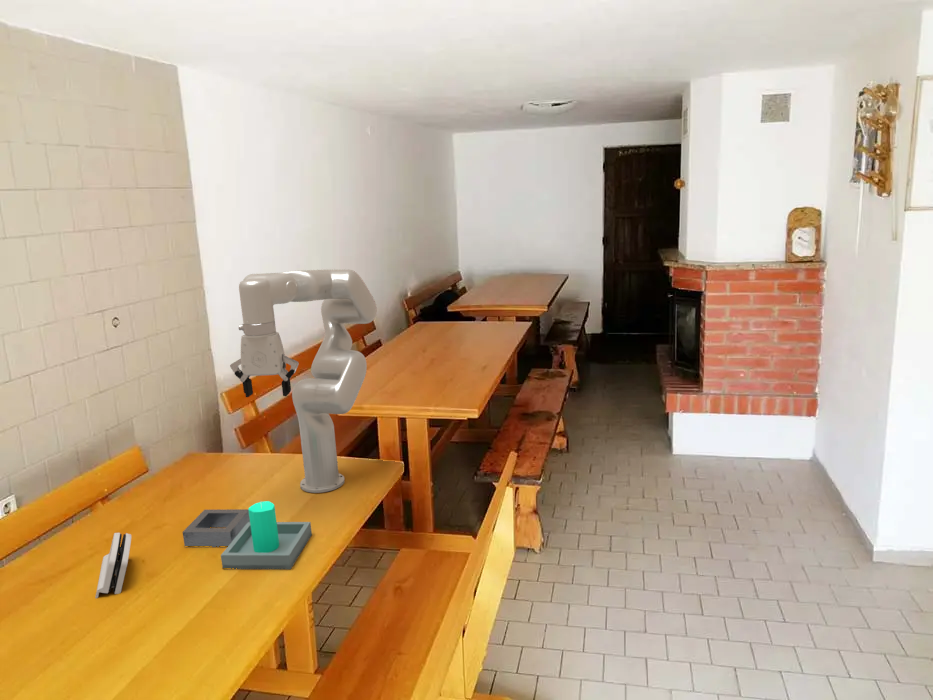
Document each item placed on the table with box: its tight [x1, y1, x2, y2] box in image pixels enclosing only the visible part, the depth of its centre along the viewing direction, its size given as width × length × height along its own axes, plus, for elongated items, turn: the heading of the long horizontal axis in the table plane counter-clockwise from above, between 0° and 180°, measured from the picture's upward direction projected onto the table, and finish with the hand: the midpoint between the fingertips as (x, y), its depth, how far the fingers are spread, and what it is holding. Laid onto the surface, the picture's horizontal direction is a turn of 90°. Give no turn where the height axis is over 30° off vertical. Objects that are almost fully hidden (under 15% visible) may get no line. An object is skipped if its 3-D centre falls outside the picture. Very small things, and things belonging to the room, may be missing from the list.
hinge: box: [95, 532, 132, 599], centre depth 161 cm, size 17×5×10 cm, turn 22°
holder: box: [182, 508, 250, 548], centre depth 179 cm, size 12×12×4 cm
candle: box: [248, 500, 279, 553], centre depth 168 cm, size 6×6×12 cm
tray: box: [220, 521, 313, 570], centre depth 169 cm, size 16×16×4 cm
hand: (268, 395), depth 180 cm, fingers open, 9 cm apart
